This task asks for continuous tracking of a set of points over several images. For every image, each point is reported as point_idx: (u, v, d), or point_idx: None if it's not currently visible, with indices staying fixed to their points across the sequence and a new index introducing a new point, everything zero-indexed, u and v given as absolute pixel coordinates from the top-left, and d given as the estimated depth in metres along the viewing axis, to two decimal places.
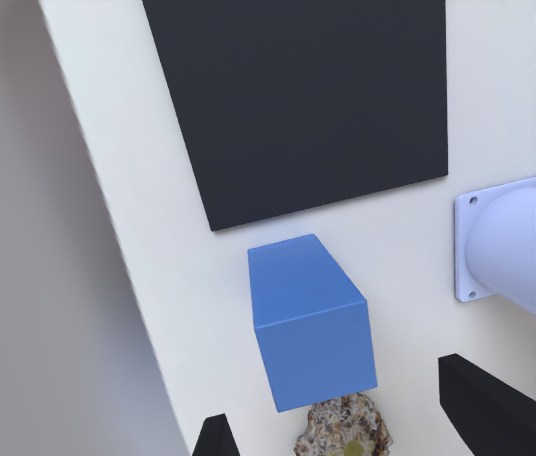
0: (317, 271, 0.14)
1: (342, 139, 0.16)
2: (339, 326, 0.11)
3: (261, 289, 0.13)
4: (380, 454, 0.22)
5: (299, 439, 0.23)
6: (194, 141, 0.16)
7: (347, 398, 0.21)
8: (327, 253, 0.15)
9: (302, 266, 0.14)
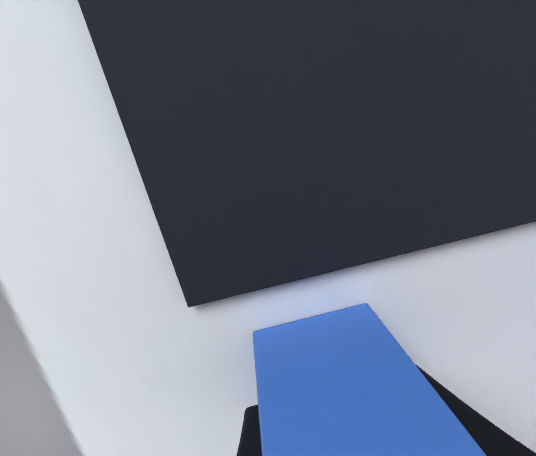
0: (418, 446, 0.06)
1: (433, 140, 0.09)
2: None
3: None
4: None
5: None
6: (149, 144, 0.08)
7: None
8: (417, 372, 0.07)
9: (372, 413, 0.07)
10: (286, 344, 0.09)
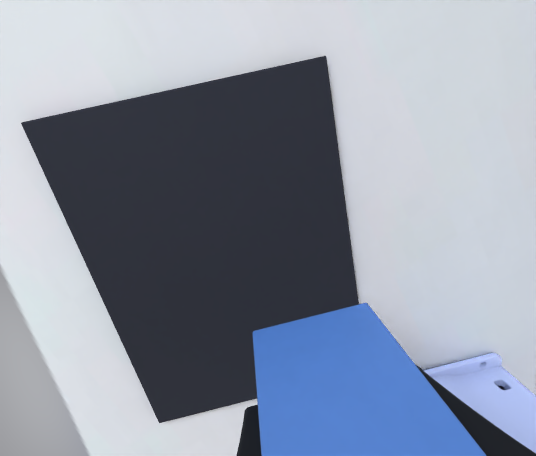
0: (418, 445, 0.06)
1: None
2: None
3: None
4: None
5: None
6: (140, 362, 0.18)
7: None
8: (416, 371, 0.07)
9: (372, 412, 0.07)
10: (286, 344, 0.09)
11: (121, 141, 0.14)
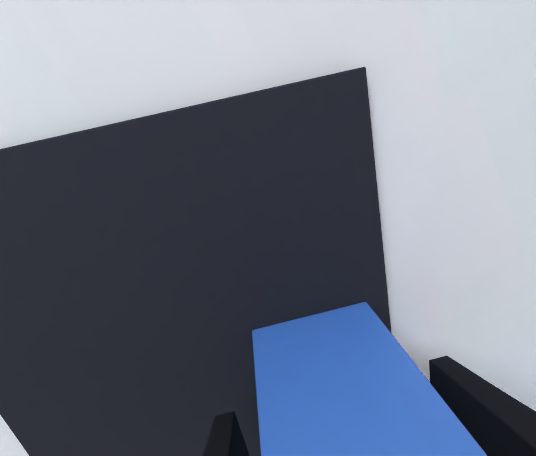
0: (417, 444, 0.06)
1: None
2: None
3: None
4: None
5: None
6: None
7: None
8: (416, 370, 0.07)
9: (371, 411, 0.07)
10: (285, 342, 0.09)
11: (22, 211, 0.08)
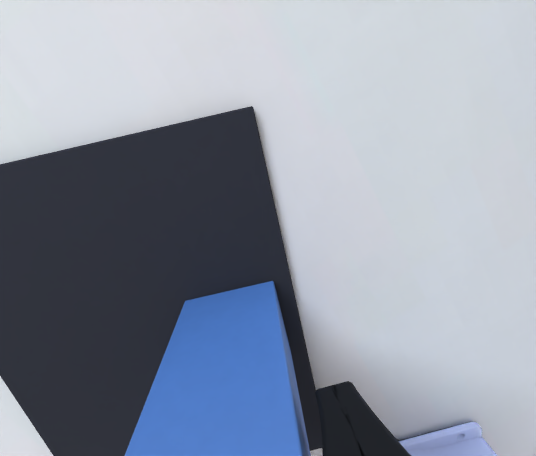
0: (251, 363, 0.09)
1: None
2: None
3: (163, 391, 0.09)
4: None
5: None
6: (59, 449, 0.16)
7: None
8: (277, 323, 0.11)
9: (235, 347, 0.10)
10: (203, 308, 0.13)
11: (7, 210, 0.12)
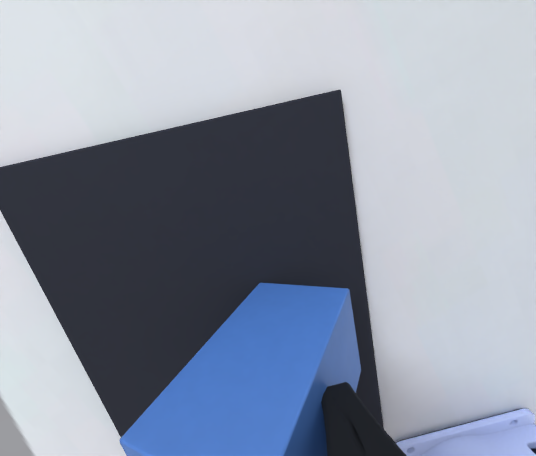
0: (274, 377, 0.08)
1: None
2: None
3: (197, 366, 0.09)
4: None
5: None
6: (127, 430, 0.16)
7: None
8: (323, 343, 0.09)
9: (271, 351, 0.09)
10: (268, 296, 0.13)
11: (100, 190, 0.12)
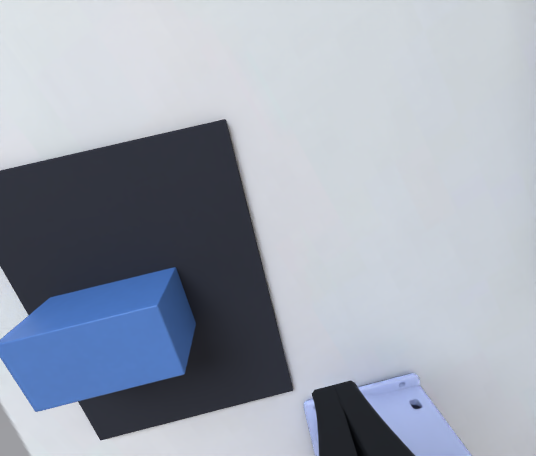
0: (67, 316, 0.15)
1: (199, 376, 0.21)
2: None
3: (88, 291, 0.17)
4: None
5: None
6: None
7: None
8: (90, 320, 0.14)
9: (90, 306, 0.15)
10: (153, 278, 0.17)
11: (44, 195, 0.16)
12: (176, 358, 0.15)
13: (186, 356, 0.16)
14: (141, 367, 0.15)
